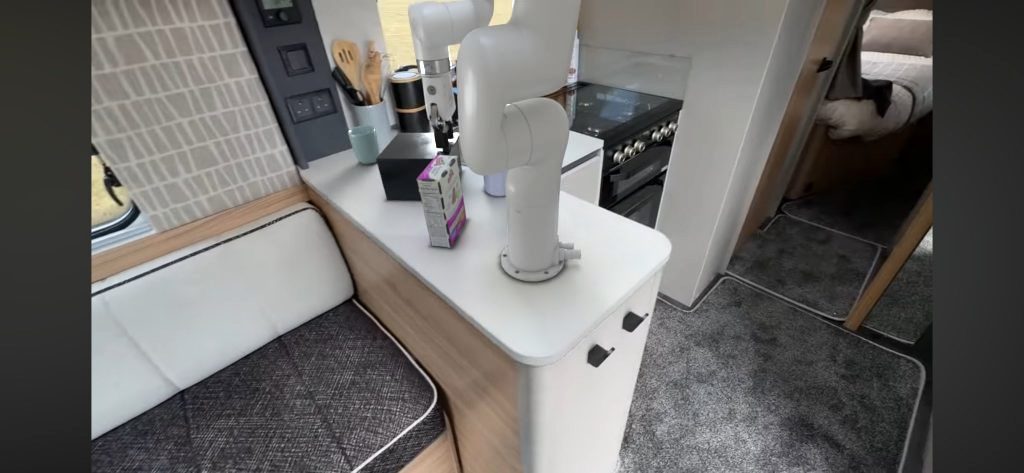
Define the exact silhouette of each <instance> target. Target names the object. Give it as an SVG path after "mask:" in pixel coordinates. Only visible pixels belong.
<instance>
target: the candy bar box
mask: <svg viewBox="0 0 1024 473" xmlns="http://www.w3.org/2000/svg"><path fill="white" fill-rule="evenodd" d="M416 180H417V184H418V188H419V192H420V197H421V201H420V202H421V204H422V205H421V206H422V209H423V215H424V218H425V223H426V227H427V228H426V229H427V232H428V237H429V242H430V245H431V246H432V247H435V248H436V247H437V248H439V247H440V248H449V249H451V248H453V246H454V244H455V242H456V240H457V239H458V236H459V235H460V233H461V231H462V229H463V227H464V225H465V223H466V221H467V220H468V218H467V213H466V206H465V199H464V195H463V193H464V192H463V187H462V186H463V185H462V180H461V176H460V172H459V165H458V157H457V156H451V155H436V157H435V158H434V159H433V160H432V161H431V163H430V164H429V165H428V166H427V167H426V169H425V170H424V171H423V172H422V173H421V174H420V176H419V177H418V178H417V179H416Z"/></svg>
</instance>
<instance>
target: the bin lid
mask: <svg viewBox="0 0 1024 473" xmlns="http://www.w3.org/2000/svg"><path fill="white" fill-rule="evenodd" d="M445 129H446V132H447V134H448V130H449V125H448V124H445ZM453 133H454V139H448V141H449V148H436V144H435V138H434V133H433V132H397V134H396V135H395V136H394V137H393V138H392V139H391V141H390V142H389V143H388V144H387V145H386V146H385V147H384V148H383V150H382V151H380V155H379V156H378V157H377V158H376V162H377V161H383V162H431V161H432V160H433V159H434V158H435V157H436V155H451V154H452V152H453V150H454V147H455V145H456V143H457V141H458V142H459V140H460V139H459V132H453Z"/></svg>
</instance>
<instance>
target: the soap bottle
mask: <svg viewBox="0 0 1024 473" xmlns="http://www.w3.org/2000/svg"><path fill="white" fill-rule="evenodd" d="M508 171H509V170H508ZM508 171H504V172H501V173H497V174H494V175H489V176H483V186H484V190H485V192H486V193H487V194H488V195H490V196H494V197H504V196H505V197H506V190H505V186H506V178H507V174H508Z"/></svg>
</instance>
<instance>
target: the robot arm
mask: <svg viewBox="0 0 1024 473" xmlns="http://www.w3.org/2000/svg"><path fill="white" fill-rule="evenodd" d="M581 4H582V0H512V7H511V14H510V18H509V19H508V21H507V22H506V23H499V24H493V25H490V23H491V21H492V18H493V16H494V12H495V0H451V1H440V2H439V1H437V0H435V1H434V0H425V1H424V0H423V1H414V2H412V3H410V4H409V5H408V8H407V15H408V21H409V27H410V28H409V29H410V33H411V39H412V44H413V50H414V57H415V62H416V68H417V75H418V76H419V77H421V79H422V89H423V98H424V104H425V105H424V106H425V111H426V116H427V119H428V120H429V121H430V126H431V127H432V133H434V138H435V144H436V148H449V141H448V139H454V133H455V132H454V126H453V118H452V117H453V115H454V114H455V111H456V110H457V116H458V117H457V119H458V133H459V139H458V140H459V148H460V150H461V151H460V152H461V155H462V158H463V160H464V162H465V165H466V166H467V168H468V169H469V170H470V171H471V172H473V173H474V174H476V175H479V176H483V177H484V176H489V175H494V174H497V173H501V172H504V171H508V170H509V171H508V174H507V178H506V186H505V190H506V195H505V205H506V206H505V207H506V229H507V230H506V231H507V244H508V245H507V246H505V248H503V250H502V252H501V254H500V264H501V267H502V269H503V270H504V272H505V273H507V274H508V275H509V276H511V277H513V278H514V279H517V280H520V281H525V282H540V281H541V282H542V281H545V280H549V279H551V278H553V277H555V276H556V275H558V274H559V273H560V272H561V271H562V269H563V268H564V265H565V260H581V259H582V250H581V249H574V248H575V243H574V242H565V243H564V242H562V241H559V240H560V239H559V215H560V214H559V213H560V212H559V211H560V196H561V195H560V194H561V179H562V169H563V165H564V164H563V163H564V159H565V155H566V151H567V147H568V144H569V140H570V139H569V138H570V128H571V127H570V120H569V119H570V118H569V116H568V113H567V111H566V109H565V108H564V107H563V106H562V104H561V103H560V102H558V101H556V100H554V99H552V98H549V97H543V96H547V95H550V94H553V93H555V92H558V91H559V90H560V89H561V88H563V86H564V85H565V83H566V82H567V80H568V77H569V74H570V71H571V70H570V69H571V65H572V59H573V53H574V48H575V41H576V36H577V30H578V22H579V18H580V12H581ZM455 45H459V48H458V51H457V57H456V64H455V65H456V67H455V68H456V76H455V77H456V95H457V97H456V98H457V109H456V100H455V94H454V88H453V87H454V86H453V82H452V77H451V74H452V72H453V69H452V62H451V54H450V46H455ZM445 124H448V125H449V130H448V134H447V132H446V129H445Z"/></svg>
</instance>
